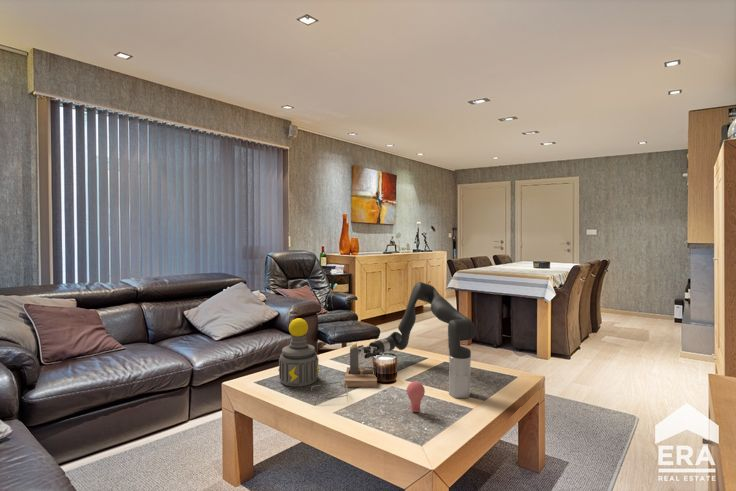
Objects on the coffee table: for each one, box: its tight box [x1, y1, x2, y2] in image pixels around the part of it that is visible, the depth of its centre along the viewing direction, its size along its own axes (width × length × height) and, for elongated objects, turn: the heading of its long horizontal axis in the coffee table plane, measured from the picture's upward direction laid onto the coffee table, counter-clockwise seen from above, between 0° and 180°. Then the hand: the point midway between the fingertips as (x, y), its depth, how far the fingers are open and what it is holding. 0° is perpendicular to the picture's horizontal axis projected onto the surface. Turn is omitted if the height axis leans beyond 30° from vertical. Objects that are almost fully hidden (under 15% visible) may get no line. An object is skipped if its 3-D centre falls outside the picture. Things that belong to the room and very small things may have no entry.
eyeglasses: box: [310, 379, 349, 406], centre depth 188 cm, size 16×15×5 cm
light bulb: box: [406, 381, 426, 413], centre depth 172 cm, size 7×7×12 cm
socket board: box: [343, 366, 378, 388], centre depth 207 cm, size 18×15×3 cm
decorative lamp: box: [278, 317, 320, 388], centre depth 205 cm, size 19×19×30 cm
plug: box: [349, 342, 360, 374], centre depth 208 cm, size 4×4×17 cm
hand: (358, 354), depth 210 cm, fingers open, 8 cm apart
